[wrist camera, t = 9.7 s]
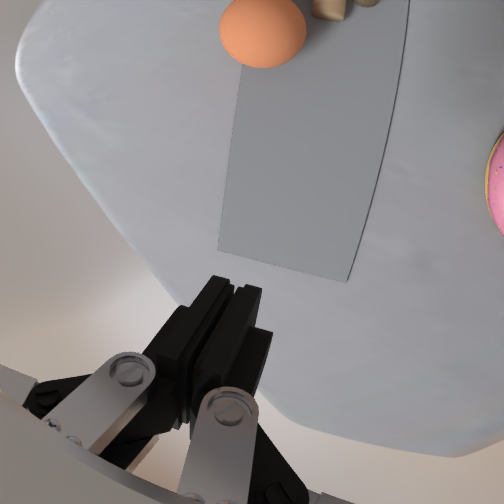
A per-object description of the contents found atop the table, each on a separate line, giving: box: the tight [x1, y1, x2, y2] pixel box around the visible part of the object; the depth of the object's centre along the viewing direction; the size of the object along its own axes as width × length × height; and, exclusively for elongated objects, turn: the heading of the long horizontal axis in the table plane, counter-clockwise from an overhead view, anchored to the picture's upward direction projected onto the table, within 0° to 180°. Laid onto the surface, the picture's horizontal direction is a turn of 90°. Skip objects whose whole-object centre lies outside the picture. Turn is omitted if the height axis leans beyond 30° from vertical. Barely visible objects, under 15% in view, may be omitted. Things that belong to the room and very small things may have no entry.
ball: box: [219, 0, 306, 68], centre depth 18 cm, size 6×6×6 cm
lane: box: [218, 0, 409, 283], centre depth 22 cm, size 12×32×1 cm, turn 171°
